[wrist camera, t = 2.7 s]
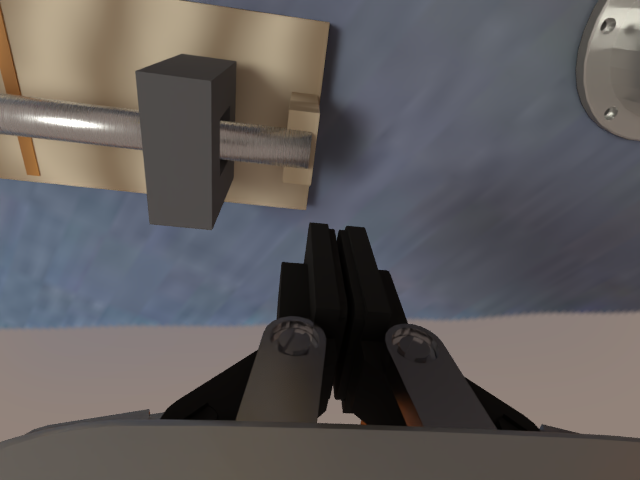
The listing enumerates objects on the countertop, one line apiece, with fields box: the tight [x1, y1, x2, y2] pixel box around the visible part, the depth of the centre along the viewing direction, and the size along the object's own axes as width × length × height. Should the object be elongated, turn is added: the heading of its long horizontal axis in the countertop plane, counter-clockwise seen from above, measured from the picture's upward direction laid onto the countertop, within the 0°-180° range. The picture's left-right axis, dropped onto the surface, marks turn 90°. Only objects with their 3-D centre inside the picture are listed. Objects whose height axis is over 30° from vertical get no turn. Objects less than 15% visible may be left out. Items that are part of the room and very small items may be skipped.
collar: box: [135, 54, 237, 230], centre depth 21 cm, size 3×7×7 cm, turn 172°
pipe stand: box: [0, 0, 330, 210], centre depth 23 cm, size 25×12×6 cm, turn 82°
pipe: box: [0, 93, 312, 169], centre depth 20 cm, size 24×2×2 cm, turn 82°
